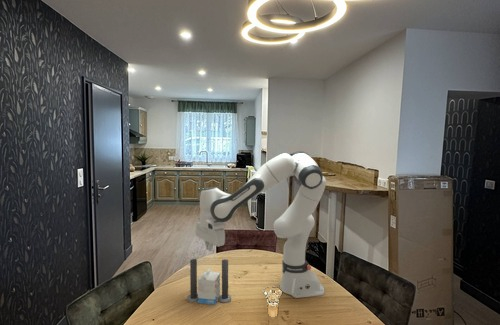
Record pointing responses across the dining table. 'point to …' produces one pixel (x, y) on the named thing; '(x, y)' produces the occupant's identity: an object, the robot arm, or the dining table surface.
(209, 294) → the ink box
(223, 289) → the post
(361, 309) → the dining table surface
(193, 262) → the post
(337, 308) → the dining table surface
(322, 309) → the dining table surface
